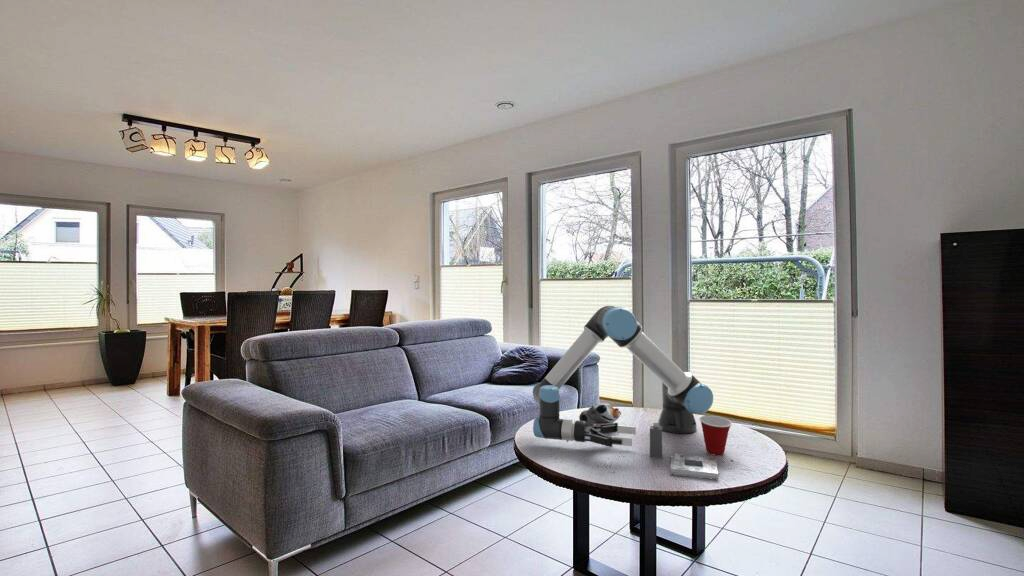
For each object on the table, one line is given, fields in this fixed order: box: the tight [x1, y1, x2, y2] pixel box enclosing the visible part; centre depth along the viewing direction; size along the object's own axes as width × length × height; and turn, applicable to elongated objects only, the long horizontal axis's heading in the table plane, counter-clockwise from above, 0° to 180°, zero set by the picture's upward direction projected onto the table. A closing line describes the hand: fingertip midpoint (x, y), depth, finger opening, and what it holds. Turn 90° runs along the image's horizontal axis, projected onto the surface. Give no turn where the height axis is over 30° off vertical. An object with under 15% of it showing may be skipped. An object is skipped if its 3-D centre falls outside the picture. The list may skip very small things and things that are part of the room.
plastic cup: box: [699, 415, 733, 456], centre depth 180 cm, size 11×11×12 cm
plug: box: [649, 422, 663, 459], centre depth 178 cm, size 4×4×12 cm
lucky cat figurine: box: [578, 402, 622, 427], centre depth 209 cm, size 15×12×14 cm
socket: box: [670, 452, 719, 480], centre depth 165 cm, size 14×14×3 cm
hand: (634, 436), depth 180 cm, fingers open, 13 cm apart
